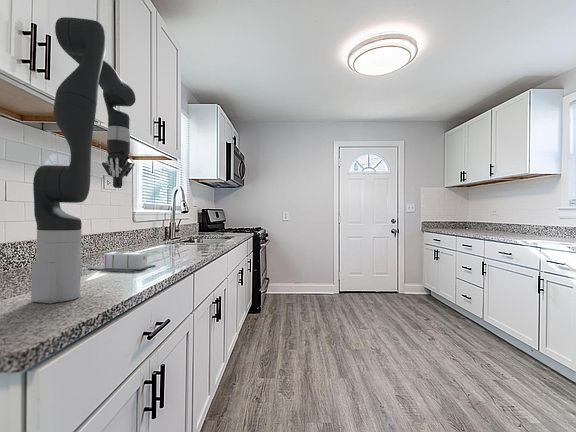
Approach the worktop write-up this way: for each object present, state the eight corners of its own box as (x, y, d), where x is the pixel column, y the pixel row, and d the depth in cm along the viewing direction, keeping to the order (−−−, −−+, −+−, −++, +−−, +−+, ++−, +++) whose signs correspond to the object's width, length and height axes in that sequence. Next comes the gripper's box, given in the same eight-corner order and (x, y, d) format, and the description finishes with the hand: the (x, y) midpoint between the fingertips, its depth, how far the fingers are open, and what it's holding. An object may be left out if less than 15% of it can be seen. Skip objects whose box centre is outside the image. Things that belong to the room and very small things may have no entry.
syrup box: (141, 254, 126) (103, 252, 126) (140, 269, 126) (102, 268, 126) (147, 252, 132) (111, 251, 132) (147, 267, 132) (111, 266, 132)
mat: (127, 272, 122) (127, 270, 122) (87, 269, 127) (87, 267, 127) (155, 266, 138) (155, 264, 138) (119, 263, 142) (119, 262, 142)
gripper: (95, 139, 120) (94, 187, 120) (125, 137, 117) (125, 186, 117) (111, 143, 128) (110, 188, 128) (140, 142, 124) (139, 188, 124)
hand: (117, 187), depth 122 cm, fingers closed
